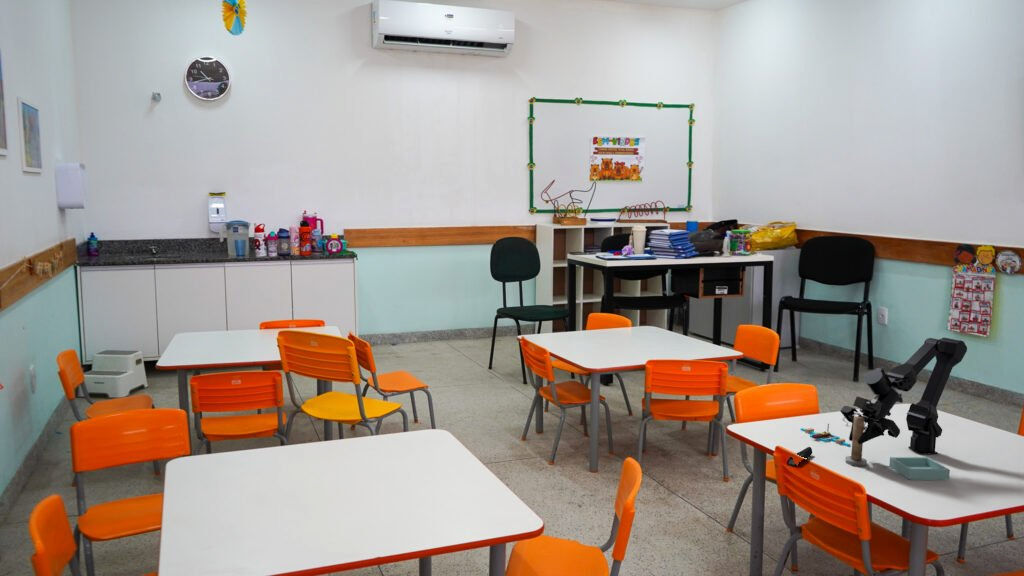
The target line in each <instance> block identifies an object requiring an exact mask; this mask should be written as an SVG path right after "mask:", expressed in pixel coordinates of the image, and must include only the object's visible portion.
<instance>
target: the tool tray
mask: <svg viewBox="0 0 1024 576" xmlns="http://www.w3.org/2000/svg"><path fill="white" fill-rule="evenodd" d="M889 468H891V469H892V470H894V471H895V472H897V473H899V474H900V475H902V476H903V477H905V478H906V479H908V480H909V481H910V480H913V481H915V480H916V481H917V480H921V481H922V480H923V481H924V480H925V481H926V480H927V481H928V480H929V481H930V480H932V481H933V480H934V481H935V480H937V481H939V480H941V481H942V480H944V481H945V480H948V481H949V480H950V473H951V472H950V471H951V469H949V468H948V467H946V466H945V465H942V464H941V463H939V462H937V461H936V460H933V459H932V458H931V457H928V456H890V457H889Z"/></svg>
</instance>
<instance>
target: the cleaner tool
mask: <svg viewBox="0 0 1024 576" xmlns="http://www.w3.org/2000/svg"><path fill="white" fill-rule="evenodd" d="M864 431H865V430H864V418H863V417H854V423H853V437H852V441H851V452H850V453H851V455H850V456H849V455H848V456H846V457H845V464H848V465H850V466H853V467H860V468H861V467H866V466H867V463H868V461H867V460H868V459H866V458H864V457H862V456H863V447H864V446H863V445H864V443H862V444H858V440H859V438H860V437H861V436H862V434H863V433H864Z"/></svg>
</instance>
